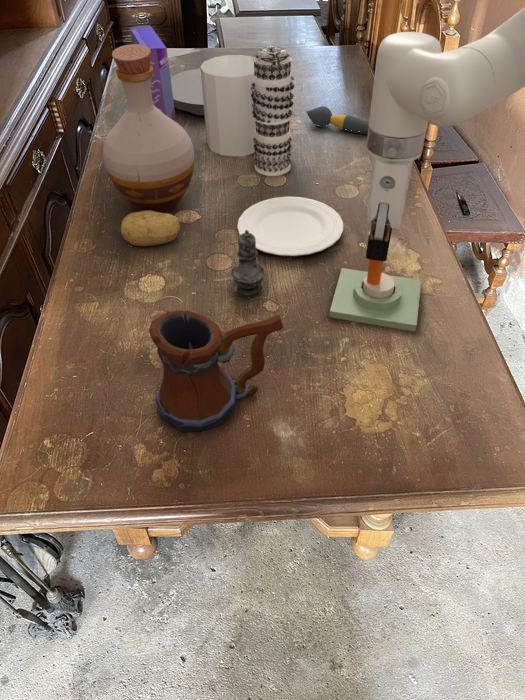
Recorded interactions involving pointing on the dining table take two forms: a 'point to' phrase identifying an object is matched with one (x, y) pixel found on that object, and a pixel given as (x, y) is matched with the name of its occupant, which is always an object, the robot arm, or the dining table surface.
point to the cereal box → (157, 68)
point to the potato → (149, 228)
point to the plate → (291, 226)
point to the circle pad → (380, 287)
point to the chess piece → (248, 268)
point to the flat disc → (188, 91)
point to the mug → (203, 367)
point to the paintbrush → (337, 120)
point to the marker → (374, 270)
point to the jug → (146, 141)
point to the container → (229, 104)
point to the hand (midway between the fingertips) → (377, 252)
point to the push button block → (376, 302)
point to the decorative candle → (272, 110)
